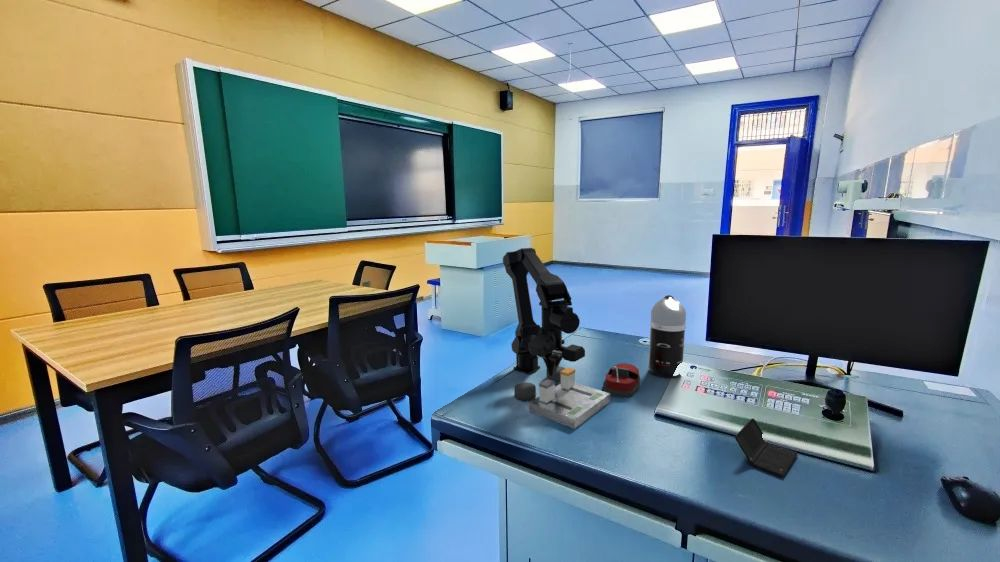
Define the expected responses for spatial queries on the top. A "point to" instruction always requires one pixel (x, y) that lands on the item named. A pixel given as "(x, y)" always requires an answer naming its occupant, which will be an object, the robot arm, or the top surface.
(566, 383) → the switch
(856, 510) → the top surface
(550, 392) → the switch
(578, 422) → the panel
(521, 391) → the coil
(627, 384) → the bumper car
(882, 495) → the top surface
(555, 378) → the coil
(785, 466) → the handheld gaming console
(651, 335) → the spray bottle
